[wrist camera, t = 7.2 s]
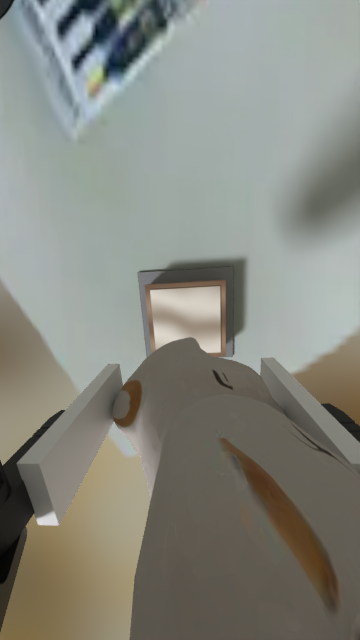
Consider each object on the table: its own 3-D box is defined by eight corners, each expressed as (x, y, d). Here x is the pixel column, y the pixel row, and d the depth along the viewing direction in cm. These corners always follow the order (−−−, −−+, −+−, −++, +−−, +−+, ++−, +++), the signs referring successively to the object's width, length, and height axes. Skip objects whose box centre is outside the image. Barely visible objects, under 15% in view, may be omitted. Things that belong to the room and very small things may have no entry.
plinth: (150, 283, 31) (144, 284, 27) (221, 279, 30) (225, 280, 26) (156, 349, 34) (151, 359, 30) (221, 347, 33) (225, 356, 29)
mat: (138, 272, 31) (137, 272, 31) (232, 266, 30) (233, 266, 30) (147, 358, 35) (147, 359, 34) (232, 355, 34) (232, 356, 33)
